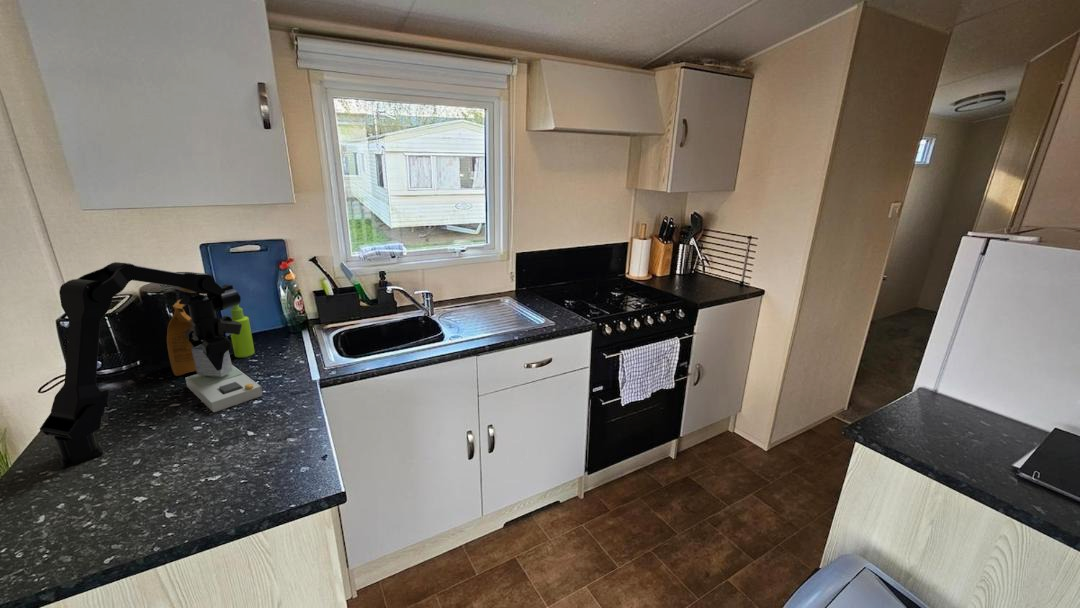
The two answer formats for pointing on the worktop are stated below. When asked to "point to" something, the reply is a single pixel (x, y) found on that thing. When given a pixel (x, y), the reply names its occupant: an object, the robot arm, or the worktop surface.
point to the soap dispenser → (242, 334)
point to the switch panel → (210, 392)
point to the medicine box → (206, 366)
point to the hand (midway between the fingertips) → (213, 365)
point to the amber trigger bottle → (180, 342)
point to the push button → (229, 388)
